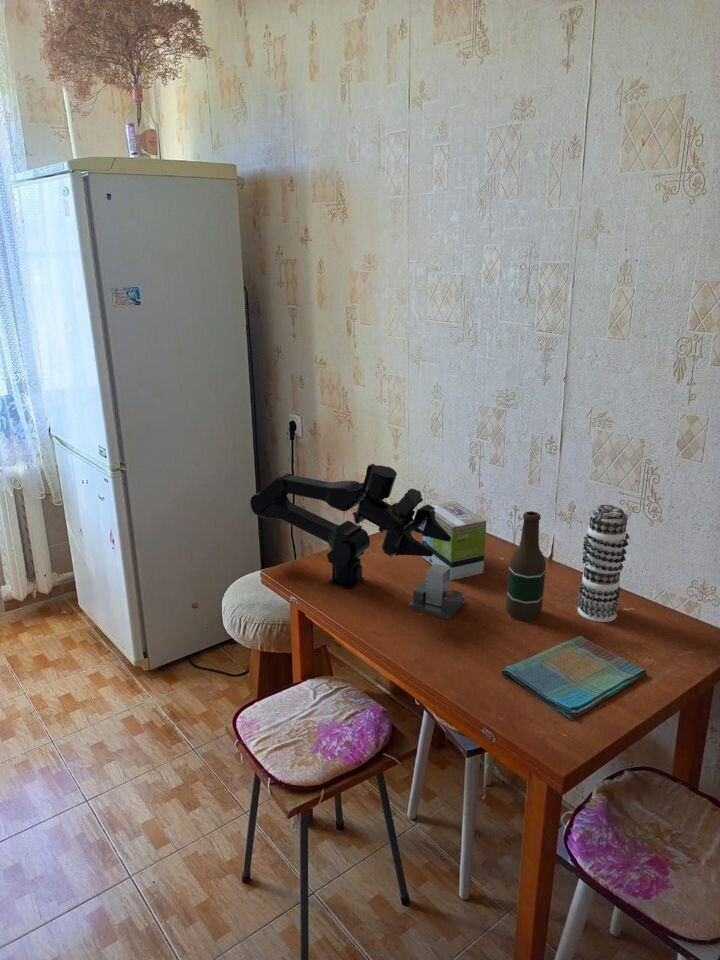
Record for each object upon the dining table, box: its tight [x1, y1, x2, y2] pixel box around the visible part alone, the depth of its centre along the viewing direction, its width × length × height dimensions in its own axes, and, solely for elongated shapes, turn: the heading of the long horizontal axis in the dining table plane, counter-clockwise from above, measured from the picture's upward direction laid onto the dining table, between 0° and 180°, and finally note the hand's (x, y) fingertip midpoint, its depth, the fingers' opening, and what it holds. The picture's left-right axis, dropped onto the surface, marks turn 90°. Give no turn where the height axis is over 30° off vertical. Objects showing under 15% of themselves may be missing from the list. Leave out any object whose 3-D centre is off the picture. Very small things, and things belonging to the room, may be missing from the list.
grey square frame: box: [407, 581, 467, 620], centre depth 164 cm, size 10×9×4 cm
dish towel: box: [501, 635, 648, 721], centre depth 138 cm, size 17×23×2 cm
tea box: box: [421, 501, 487, 581], centre depth 182 cm, size 15×10×15 cm
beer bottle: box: [505, 511, 547, 622], centre depth 157 cm, size 8×8×24 cm
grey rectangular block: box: [425, 564, 451, 609], centre depth 163 cm, size 4×4×9 cm
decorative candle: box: [577, 504, 630, 623], centre depth 157 cm, size 9×9×25 cm
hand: (441, 546), depth 159 cm, fingers open, 9 cm apart
